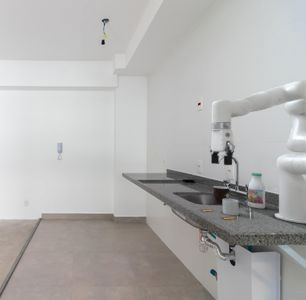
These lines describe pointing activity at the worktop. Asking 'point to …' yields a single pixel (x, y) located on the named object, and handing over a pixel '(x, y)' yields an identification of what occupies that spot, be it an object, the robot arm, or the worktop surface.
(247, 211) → the worktop surface
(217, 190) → the coffee mug
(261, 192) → the milk bottle
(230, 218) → the tape marks
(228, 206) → the pot
